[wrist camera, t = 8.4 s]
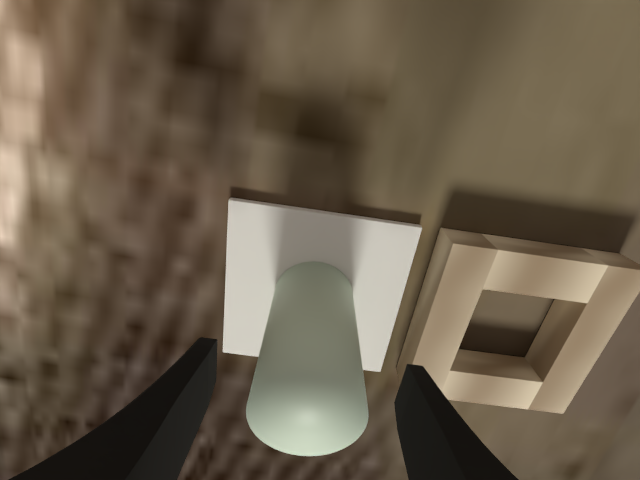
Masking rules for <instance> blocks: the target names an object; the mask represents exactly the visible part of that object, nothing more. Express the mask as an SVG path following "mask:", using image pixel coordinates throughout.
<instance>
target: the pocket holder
mask: <svg viewBox="0 0 640 480" xmlns="http://www.w3.org/2000/svg"><path fill="white" fill-rule="evenodd" d="M482 289H487V290H494V291H501V292H508V293H516V294H523V295H530V296H538V297H545V298H552V299H554V301H553V303H552V305H551V307H550V309H549V311H548V313H547V315H546V317H545V319H544V321H543V323H542V325H541V327H540V329H539V331H538V333H537V335H536V337H535V339H534V341H533V343H532V344H531V346H530V348H529V350H528V352H527V354H526V356H525V357H517V356H509V355H501V354H493V353H486V352H478V351H470V350H462V349H459V347H460V344H461V342H462V339H463V337H464V334H465V332H466V329H467V327H468V324H469V322H470V319H471V317H472V314H473V312H474V309H475V307H476V304H477V302H478V299H479V297H480V294H481V292H482ZM639 291H640V265H639V264H637V263H636V262H634V261H632V260H630V259H629V258H627V257H625V256H623V255H622V254H620V253H613V252H606V251H599V250H592V249H585V248H578V247H571V246H564V245H557V244H550V243H543V242H536V241H529V240H523V239H516V238H509V237H502V236H495V235H488V234H481V233H474V232H467V231H460V230H453V229H446V228H440V231H439V234H438V237H437V240H436V244H435V247H434V250H433V253H432V256H431V260H430V263H429V266H428V269H427V272H426V275H425V279H424V282H423V285H422V288H421V291H420V295H419V298H418V301H417V304H416V307H415V310H414V314H413V317H412V320H411V323H410V326H409V329H408V333H407V336H406V339H405V342H404V345H403V349H402V352H401V355H400V358H399V361H398V364H397V368H396V370H397V374H398V378H399V382H400V384H401V381H402V378H403V375H404V372H405V369H406V366H407V364H413V365H420V366H423V367H424V368H425V369H426V371H427V372H428V374H429V375H430V376H431V378H432V379H433V380H434V382H435V383H436V385H437V386H438V387H439V389H440V390H441V391H442V393H443V394H444V396H445V397H446V398H447V399H448V400H456V401H464V402H472V403H480V404H489V405H497V406H505V407H513V408H521V409H530V410H538V411H546V412H554V413H562V414H563V413H564V411H565V410H566V408H567V407H568V405H569V403H570V402H571V400H572V399H573V397H574V395H575V394H576V392H577V391H578V389H579V387H580V386H581V384H582V383H583V381H584V379H585V378H586V376H587V375H588V373H589V371H590V370H591V368H592V367H593V365H594V363H595V362H596V360H597V359H598V357H599V355H600V354H601V352H602V351H603V349H604V347H605V346H606V344H607V343H608V341H609V339H610V338H611V336H612V335H613V333H614V331H615V330H616V328H617V327H618V325H619V323H620V322H621V320H622V319H623V317H624V315H625V314H626V312H627V311H628V309H629V307H630V306H631V304H632V303H633V301H634V299H635V298H636V296H637V295H638V293H639Z"/></svg>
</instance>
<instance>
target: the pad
mask: <svg viewBox="0 0 640 480" xmlns="http://www.w3.org/2000/svg"><path fill="white" fill-rule="evenodd" d="M421 230H422V227H421V225H419V224H412V223H405V222H398V221H391V220H384V219H377V218H370V217H363V216H356V215H349V214H342V213H335V212H329V211H322V210H315V209H308V208H301V207H294V206H287V205H280V204H273V203H266V202H259V201H252V200H245V199H238V198H232V197H231V198H230V199H229V201H228V228H227V254H226V281H225V307H224V334H223V352H225V353H233V354H241V355H249V356H257V357H259V353H260V349H261V345H262V341H263V336H264V332H265V328H266V324H267V320H268V316H269V312H270V308H271V304H272V299H273V295H274V291H275V287H276V284H277V282H278V280H279V278H280V277H281V275H282V274H283V273H284V272H285V271H286V270H288V269H289V268H291V267H292V266H294V265H297V264H300V263H303V262H313V261H315V262H323V263H326V264H330V265H332V266H334V267H336V268H337V269H339V270H340V271H341V272H342V273H343V274H344V275H345V276H346V277H347V279H348V280H349V282H350V284H351V287H352V292H353V299H354V307H355V314H356V322H357V329H358V337H359V345H360V352H361V360H362V367H363V370H369V371H377V372H380V371H381V368H382V364H383V361H384V357H385V354H386V351H387V347H388V344H389V340H390V337H391V333H392V330H393V327H394V323H395V320H396V316H397V313H398V309H399V306H400V302H401V299H402V296H403V292H404V289H405V285H406V282H407V278H408V275H409V272H410V268H411V265H412V261H413V258H414V254H415V251H416V247H417V244H418V241H419V237H420V234H421Z"/></svg>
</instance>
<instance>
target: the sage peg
mask: <svg viewBox="0 0 640 480" xmlns="http://www.w3.org/2000/svg"><path fill="white" fill-rule="evenodd" d="M246 417H247V421H248V424H249V426H250V428H251V430H252V431H253V432H254V434H255V435H256V436H257V437H258V438H259V439H260V440H261V441H263V442H264V443H265V444H267V445H269V446H270V447H272V448H274V449H276V450H279V451H282V452H285V453H288V454H293V455H299V456H319V455H325V454H330V453H333V452H337V451H339V450H341V449H344V448H345V447H347V446H349V445H350V444H352V443H353V442H355V441H356V440H357V439H358V438H359V437H360V436H361V434H362V433H363V431H364V430H365V428H366V425H367V422H368V405H367V398H366V390H365V382H364V375H363V367H362V360H361V352H360V345H359V337H358V329H357V322H356V314H355V307H354V299H353V292H352V287H351V284H350V282H349V280H348V279H347V277H346V276H345V275H344V274H343V273H342V272H341V271H340V270H339V269H337V268H336V267H334V266H332V265H330V264H326V263H323V262H315V261H313V262H303V263H300V264H297V265H294V266H292V267H291V268H289V269H288V270H286V271H285V272H284V273H283V274H282V275H281V277H280V278H279V280H278V282H277V284H276V287H275V291H274V295H273V299H272V304H271V308H270V312H269V316H268V320H267V324H266V328H265V332H264V336H263V341H262V345H261V349H260V353H259V357H258V361H257V365H256V369H255V373H254V378H253V382H252V386H251V390H250V394H249V398H248V402H247V407H246Z"/></svg>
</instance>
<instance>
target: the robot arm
mask: <svg viewBox="0 0 640 480" xmlns="http://www.w3.org/2000/svg"><path fill="white" fill-rule="evenodd" d="M216 367H217V339H210V338H202V337H201V338H199V339H198V340H197V341H196V342H195V343H194V344H193V345H192V346H191V347H190V348H189V349H188V350H187V351H186V352H185V354H184V355H183V356H182V357H181V358H180V359H179V360H178V361H177V362H176V363H175V364H174V365H172V366H171V367H170V368H169V369H168V370H167V371H166V372H165V373H164V374H163V375H162V376H161V377H160V378H159V379H158V380H157V381H155V382H154V383H153V384H152V385H151V386H150V387H148V388H147V389H146V390H145V391H144V392H143V393H141V394H140V395H139V396H138V397H137V398H136V399H134V400H133V401H132V402H131V403H129V404H128V405H127V406H126V407H124V408H123V409H122V410H120V411H119V412H118V413H116V414H115V415H114V416H112V417H111V418H110V419H108V420H107V421H105V422H104V423H103V424H101V425H100V426H98V427H97V428H95V429H94V430H92V431H91V432H89V433H88V434H87V435H85V436H83V437H82V438H80V439H79V440H77V441H76V442H74V443H73V444H71V445H69V446H68V447H66V448H64V449H63V450H61V451H59V452H58V453H56V454H54V455H52V456H51V457H49V458H47V459H46V460H44V461H42V462H41V463H39V464H37V465H35V466H34V467H32V468H30V469H28V470H26V471H24V472H22V473H20V474H19V475H17V476H15V477H13V478H11V479H9V480H177V478H178V476H179V473H180V471H181V468H182V466H183V464H184V461H185V459H186V457H187V454H188V452H189V450H190V447H191V445H192V443H193V441H194V438H195V436H196V434H197V431H198V429H199V427H200V424H201V422H202V420H203V417H204V415H205V413H206V410H207V408H208V405H209V402H210V399H211V395H212V392H213V389H214V385H215V382H216ZM395 412H396V421H397V430H398V434H399V439H400V443H401V448H402V452H403V457H404V461H405V465H406V469H407V474H408V478H409V480H518V479H517V478H516V477H515V476H514V475H513V474H512V473H511V472H510V471H509V470H508V469H507V468H506V467H505V466H504V465H503V464H502V463H501V462H500V461H499V460H498V459H497V458H496V457H495V456H494V455H493V454H492V453H491V451H490V450H489V449H488V448H487V447H486V446H485V445H484V444H483V443H482V442H481V440H480V439H479V438H478V437H477V436H476V435H475V433H474V432H473V431H472V430H471V429H470V428H469V426H468V425H467V424H466V423H465V421H464V420H463V419H462V418H461V416H460V415H459V414H458V413H457V411H456V410H455V409H454V407H453V406H452V405H451V404H450V402H449V401H448V400H447V398H446V397H445V396H444V394H443V393H442V391H441V390H440V389H439V387H438V386H437V385H436V383H435V382H434V380H433V379H432V378H431V376H430V375H429V374H428V372H427V371H426V369H425V368H424V367H423V366H420V365H413V364H407V366H406V369H405V372H404V375H403V378H402V381H401V384H400V387H399V390H398V393H397V396H396V399H395Z"/></svg>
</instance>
